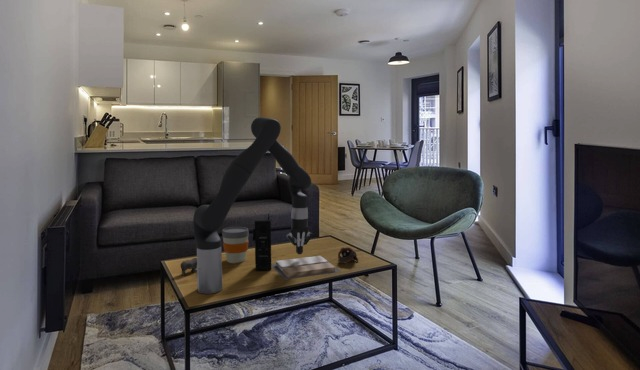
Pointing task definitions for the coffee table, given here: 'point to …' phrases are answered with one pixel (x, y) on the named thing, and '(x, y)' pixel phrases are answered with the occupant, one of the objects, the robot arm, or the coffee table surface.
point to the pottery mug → (347, 255)
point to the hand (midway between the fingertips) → (299, 253)
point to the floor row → (308, 269)
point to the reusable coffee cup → (235, 243)
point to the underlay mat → (299, 276)
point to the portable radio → (262, 244)
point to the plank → (300, 262)
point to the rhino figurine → (189, 265)
